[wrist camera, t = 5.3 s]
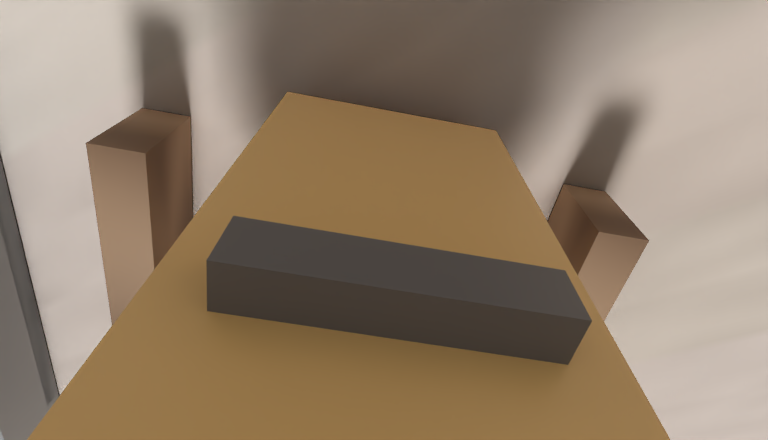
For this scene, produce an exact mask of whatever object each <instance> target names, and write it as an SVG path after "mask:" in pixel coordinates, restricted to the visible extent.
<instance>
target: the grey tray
mask: <svg viewBox="0 0 768 440" xmlns="http://www.w3.org/2000/svg"><path fill="white" fill-rule="evenodd" d="M58 397H59V394H58V390H57V386H56V382H55V378H54V374H53V370H52V366H51V362H50V358H49V354H48V349H47V345H46V341H45V337H44V333H43V329H42V325H41V321H40V317H39V313H38V309H37V305H36V301H35V297H34V292H33V288H32V284H31V280H30V276H29V272H28V268H27V264H26V260H25V256H24V252H23V248H22V244H21V240H20V235H19V231H18V227H17V223H16V219H15V215H14V211H13V207H12V203H11V199H10V195H9V191H8V187H7V182H6V178H5V174H4V170H3V166H2V162H1V158H0V440H27V439H28V437H29V436H30V435H31V433H32V432H33V431H34V429H35V428H36V427H37V425H38V424H39V423H40V421H41V420H42V419H43V417H44V416H45V415H46V413H47V412H48V411H49V409H50V408H51V407H52V405H53V404H54V403H55V401H56V400H57V399H58Z"/></svg>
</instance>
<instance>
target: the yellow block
mask: <svg viewBox="0 0 768 440" xmlns="http://www.w3.org/2000/svg"><path fill="white" fill-rule="evenodd" d="M27 440H670V438H669V437H668V435H667V433H666V431H665V429H664V428H663V426H662V424H661V422H660V421H659V419H658V417H657V415H656V413H655V412H654V410H653V408H652V406H651V405H650V403H649V401H648V399H647V397H646V396H645V394H644V392H643V390H642V389H641V387H640V385H639V383H638V382H637V380H636V378H635V376H634V374H633V373H632V371H631V369H630V367H629V366H628V364H627V362H626V360H625V358H624V357H623V355H622V353H621V351H620V350H619V348H618V346H617V344H616V343H615V341H614V339H613V337H612V335H611V334H610V332H609V330H608V328H607V327H606V325H605V323H604V321H603V319H602V318H601V316H600V314H599V312H598V311H597V309H596V307H595V305H594V304H593V302H592V300H591V298H590V296H589V295H588V293H587V291H586V289H585V288H584V286H583V284H582V282H581V280H580V279H579V277H578V275H577V273H576V272H575V270H574V268H573V266H572V265H571V263H570V261H569V259H568V257H567V256H566V254H565V252H564V250H563V249H562V247H561V245H560V243H559V241H558V240H557V238H556V236H555V234H554V233H553V231H552V229H551V227H550V226H549V224H548V222H547V220H546V218H545V217H544V215H543V213H542V211H541V210H540V208H539V206H538V204H537V202H536V201H535V199H534V197H533V195H532V194H531V192H530V190H529V188H528V186H527V185H526V183H525V181H524V179H523V178H522V176H521V174H520V172H519V171H518V169H517V167H516V165H515V163H514V162H513V160H512V158H511V156H510V155H509V153H508V151H507V149H506V147H505V146H504V144H503V142H502V140H501V139H500V137H499V135H498V133H497V132H496V130H490V129H485V128H480V127H474V126H469V125H464V124H458V123H453V122H447V121H442V120H437V119H431V118H426V117H421V116H415V115H410V114H405V113H399V112H394V111H388V110H383V109H378V108H372V107H367V106H362V105H356V104H351V103H346V102H340V101H335V100H329V99H324V98H319V97H313V96H308V95H303V94H297V93H292V92H287V93H286V94H285V96H284V97H283V98H282V100H281V101H280V102H279V104H278V105H277V106H276V108H275V109H274V110H273V112H272V113H271V114H270V116H269V117H268V118H267V120H266V121H265V122H264V124H263V125H262V126H261V128H260V129H259V130H258V132H257V133H256V134H255V136H254V137H253V138H252V140H251V141H250V142H249V144H248V145H247V146H246V148H245V149H244V150H243V152H242V153H241V154H240V156H239V157H238V158H237V160H236V161H235V162H234V164H233V165H232V166H231V168H230V169H229V170H228V172H227V173H226V174H225V176H224V177H223V179H222V180H221V181H220V183H219V184H218V185H217V187H216V188H215V189H214V191H213V192H212V193H211V195H210V196H209V197H208V199H207V200H206V201H205V203H204V204H203V205H202V207H201V208H200V209H199V211H198V212H197V213H196V215H195V216H194V217H193V219H192V220H191V221H190V223H189V224H188V225H187V227H186V228H185V229H184V231H183V232H182V233H181V235H180V236H179V237H178V239H177V240H176V241H175V243H174V244H173V245H172V247H171V248H170V249H169V251H168V252H167V253H166V255H165V256H164V257H163V259H162V260H161V261H160V263H159V264H158V265H157V267H156V268H155V269H154V271H153V272H152V273H151V275H150V276H149V277H148V279H147V280H146V281H145V283H144V284H143V285H142V287H141V288H140V289H139V291H138V292H137V293H136V295H135V296H134V297H133V299H132V300H131V301H130V303H129V304H128V305H127V307H126V308H125V309H124V311H123V312H122V313H121V315H120V316H119V317H118V319H117V320H116V321H115V323H114V324H113V325H112V327H111V328H110V329H109V331H108V332H107V333H106V335H105V336H104V337H103V339H102V340H101V341H100V343H99V344H98V345H97V347H96V348H95V349H94V351H93V352H92V353H91V355H90V356H89V357H88V359H87V360H86V361H85V363H84V364H83V365H82V367H81V368H80V369H79V371H78V372H77V373H76V375H75V376H74V377H73V379H72V380H71V381H70V383H69V384H68V385H67V387H66V388H65V389H64V391H63V392H62V393H61V395H60V396H59V397H58V399H57V400H56V401H55V403H54V404H53V405H52V407H51V408H50V409H49V411H48V412H47V413H46V415H45V416H44V417H43V419H42V420H41V421H40V423H39V424H38V425H37V427H36V428H35V429H34V431H33V432H32V433H31V435H30V436H29V437H28V439H27Z"/></svg>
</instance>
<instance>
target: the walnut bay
mask: <svg viewBox="0 0 768 440" xmlns="http://www.w3.org/2000/svg"><path fill="white" fill-rule="evenodd" d="M86 147H87V153H88V160H89V167H90V174H91V181H92V188H93V195H94V202H95V209H96V216H97V223H98V230H99V237H100V244H101V251H102V258H103V265H104V272H105V278H106V285H107V292H108V299H109V306H110V313H111V320H112V325H113V324H114V323H115V321H116V320H117V319H118V317H119V316H120V315H121V313H122V312H123V311H124V309H125V308H126V307H127V305H128V304H129V303H130V301H131V300H132V299H133V297H134V296H135V295H136V293H137V292H138V291H139V289H140V288H141V287H142V285H143V284H144V283H145V281H146V280H147V279H148V277H149V276H150V275H151V273H152V272H153V271H154V269H155V268H156V267H157V265H158V264H159V263H160V261H161V260H162V259H163V257H164V256H165V255H166V253H167V252H168V251H169V249H170V248H171V247H172V245H173V244H174V243H175V241H176V240H177V239H178V237H179V236H180V235H181V233H182V232H183V231H184V229H185V228H186V227H187V225H188V224H189V223H190V221H191V220H192V219H193V198H192V157H191V117H189V116H184V115H178V114H173V113H167V112H161V111H156V110H150V109H145V108H142V109H140V110H139V111H137V112H135V113H134V114H132V115H131V116H129V117H127V118H126V119H124V120H122V121H121V122H119V123H118V124H116V125H114V126H113V127H111V128H110V129H108V130H106V131H105V132H103V133H101V134H100V135H98V136H97V137H95V138H93V139H92V140H90V141H89V142H87V143H86ZM548 224H549V226H550V227H551V229H552V231H553V233H554V234H555V236H556V238H557V240H558V241H559V243H560V245H561V247H562V249H563V250H564V252H565V254H566V256H567V257H568V259H569V261H570V263H571V265H572V266H573V268H574V270H575V272H576V273H577V275H578V277H579V279H580V280H581V282H582V284H583V286H584V288H585V289H586V291H587V293H588V295H589V296H590V298H591V300H592V302H593V304H594V305H595V307H596V309H597V311H598V312H599V314H600V316H601V318H602V319H603V321H604V320H605V318H606V317H607V315H608V313H609V311H610V309H611V308H612V306H613V304H614V302H615V301H616V299H617V297H618V295H619V293H620V292H621V290H622V288H623V286H624V284H625V283H626V281H627V279H628V277H629V275H630V274H631V272H632V270H633V268H634V267H635V265H636V263H637V261H638V259H639V258H640V256H641V254H642V252H643V250H644V249H645V247H646V245H647V243H648V241H649V240H648V239H647V238H646V237H645V235H644V234H643V233H642V232H641V231H640V230H639V229H638V228H637V226H636V225H635V224H634V223H633V222H632V221H631V220H630V219H629V218H628V216H627V215H626V214H625V213H624V212H623V211H622V210H621V209H620V207H619V206H618V205H617V204H616V203H615V202H614V201H613V200H612V198H611V197H610V196H609V195H608V194H607V193H606V192H605V191H599V190H594V189H588V188H583V187H577V186H572V185H566V184H563V187H562V189H561V192H560V194H559V196H558V199H557V201H556V204H555V206H554V208H553V211H552V213H551V215H550V218H549V220H548Z"/></svg>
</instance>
